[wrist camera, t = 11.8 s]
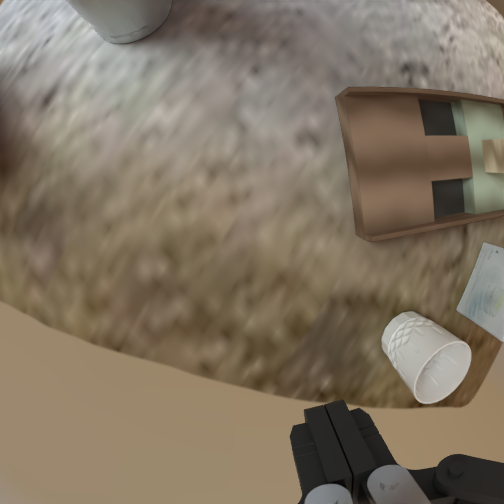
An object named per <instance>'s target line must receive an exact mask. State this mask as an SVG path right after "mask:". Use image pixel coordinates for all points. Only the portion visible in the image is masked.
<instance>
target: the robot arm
mask: <svg viewBox="0 0 504 504" xmlns="http://www.w3.org/2000/svg"><path fill="white" fill-rule="evenodd" d="M66 1H67V2H68V3H69V4H70V5H71V6H72V7H73V8H74V9H75V10H76V11H77V12H78V13H79V14H80V15H81V16H82V17H83V18H84V19H85V21H86V22H87V23H88V24H89V25H90V26H91V27H92V28H93V29H94V30H95V31H96V32H97V33H98V34H99V35H100V36H101V37H102V38H103V39H104V40H106V41H108V42H111V43H117V44H119V43H129V42H134V41H137V40H139V39H142V38H144V37H146V36H147V35H149V34H151V33H152V32H154V31H155V30H156V29H158V28H159V27H160V26H161V25H162V24H163V22H164V21H165V20H166V18H167V17H168V15H169V12H170V10H171V5H172V2H171V0H66ZM304 416H305V423H303V424H298V425H294V426H293V428H292V431H291V434H290V440H291V445H292V451H293V456H294V461H295V465H296V469H297V473H298V478H299V482H300V486H301V490H302V498H301V500H300V502H299V503H298V504H504V463H500V462H495V461H490V460H485V459H481V458H476V457H471V456H467V455H463V454H454V455H450V456H448V457H446V458H444V459H443V460H442V461H441V462H440V463H439V464H438V466H437V467H433V468H427V469H421V470H409V469H406V468H404V467H402V466H400V465H398V464H397V463H396V461H395V460H394V458H393V456H392V454H391V453H390V451H389V449H388V447H387V445H386V444H385V442H384V440H383V438H382V436H381V435H380V434H379V431H378V429H377V428H376V426H375V425H374V422H373V421H372V419H371V417H370V415H369V414H367V413H366V412H364V411H363V410H361V409H360V408H357V409H354V410H351V411H349V410H348V407H347V405H346V403H345V402H344V400H343V399H342V400H339V401H335V402H331V403H328V404H324V406H323V405H321V406H317V407H313V408H309V409H304Z"/></svg>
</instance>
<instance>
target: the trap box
mask: <svg viewBox="0 0 504 504" xmlns="http://www.w3.org/2000/svg"><path fill="white" fill-rule="evenodd" d="M335 99H336V104H337V109H338V114H339V119H340V124H341V130H342V135H343V141H344V147H345V153H346V159H347V166H348V172H349V179H350V186H351V194H352V202H353V210H354V219H355V229H356V235H357V236H359V237H361V238H364V239H366V240H368V241H370V242H375V241H380V240H385V239H390V238H396V237H401V236H406V235H411V234H416V233H421V232H426V231H431V230H436V229H441V228H447V227H452V226H457V225H461V224H466V223H471V222H476V221H481V220H486V219H491V218H496V217H501V216H504V173H490V172H485V167H484V158H483V150H482V142H481V140H491V139H504V100H503V99H498V98H493V97H487V96H481V95H474V94H467V93H459V92H451V91H441V90H431V89H417V88H398V87H348V88H346V89H345V90H344V91H342V92H341V93H340V94H338V95H337V96H336V97H335Z"/></svg>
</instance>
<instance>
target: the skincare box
mask: <svg viewBox="0 0 504 504" xmlns="http://www.w3.org/2000/svg"><path fill="white" fill-rule="evenodd" d="M456 311H458V312H459V313H461V314H462V315H464V316H465V317H467V318H468V319H470V320H471V321H473V322H474V323H476V324H477V325H478V326H480V327H481V328H483V329H484V330H486V331H487V332H489V333H490V334H492V335H493V336H494V337H496V338H497V339H499V340H500V341H501V342H504V248H501V247H498V246H495V245H492V244H489V243H486V242H484V243H483V245H482V248H481V251H480V254H479V257H478V259H477V262H476V264H475V267H474V269H473V272H472V274H471V277H470V279H469V282H468V284H467V286H466V289H465V291H464V293H463V296H462V298H461V300H460V302H459V304H458V306H457V309H456Z"/></svg>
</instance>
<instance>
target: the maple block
mask: <svg viewBox="0 0 504 504" xmlns="http://www.w3.org/2000/svg"><path fill="white" fill-rule="evenodd" d="M481 142H482V150H483V158H484V167H485V172H490V173H504V139H491V140H481Z"/></svg>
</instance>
